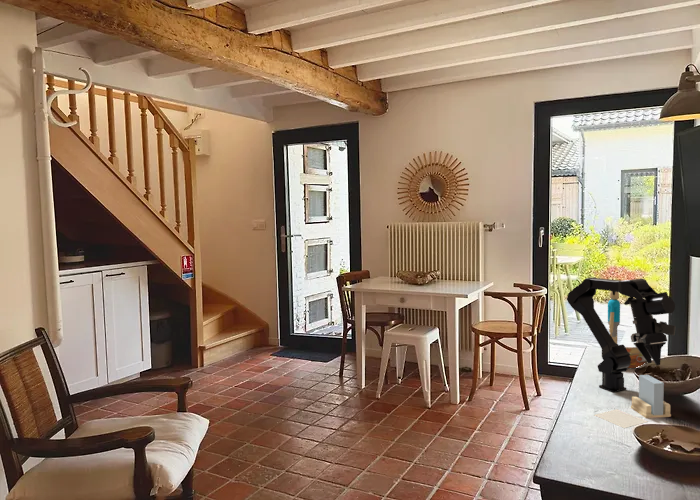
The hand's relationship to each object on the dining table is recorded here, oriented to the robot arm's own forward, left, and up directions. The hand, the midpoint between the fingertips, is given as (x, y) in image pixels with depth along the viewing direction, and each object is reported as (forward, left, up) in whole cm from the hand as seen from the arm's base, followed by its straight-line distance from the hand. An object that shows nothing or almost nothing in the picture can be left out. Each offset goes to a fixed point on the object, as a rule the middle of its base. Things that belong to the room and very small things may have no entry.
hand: (653, 364), depth 176 cm
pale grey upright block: (+5, -8, -12) cm, 15 cm away
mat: (+4, -20, -13) cm, 24 cm away
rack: (+5, -8, -13) cm, 16 cm away
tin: (-30, +24, -13) cm, 41 cm away
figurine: (-40, +30, -13) cm, 52 cm away
